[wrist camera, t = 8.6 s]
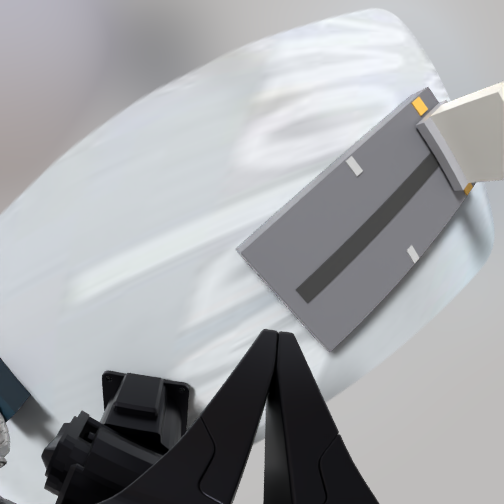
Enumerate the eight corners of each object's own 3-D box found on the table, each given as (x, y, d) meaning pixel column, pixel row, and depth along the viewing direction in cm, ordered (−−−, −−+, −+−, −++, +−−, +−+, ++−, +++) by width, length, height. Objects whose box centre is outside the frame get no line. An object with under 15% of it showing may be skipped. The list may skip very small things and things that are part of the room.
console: (316, 339, 22) (330, 353, 19) (235, 249, 20) (240, 253, 17) (461, 177, 23) (481, 175, 20) (410, 95, 21) (428, 86, 18)
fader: (454, 190, 19) (533, 186, 12) (415, 125, 18) (493, 98, 11) (473, 164, 20) (545, 154, 12) (438, 103, 19) (508, 76, 11)
